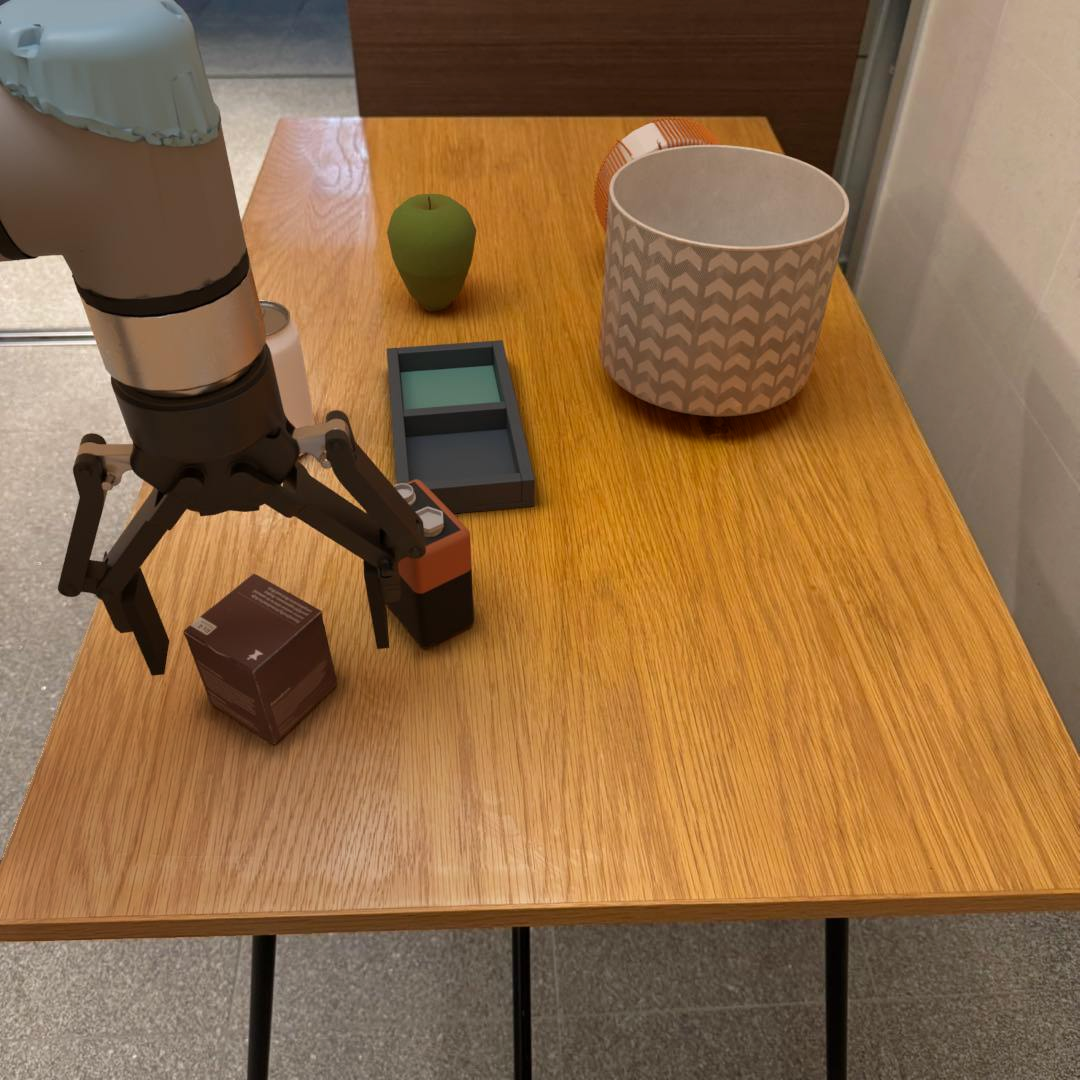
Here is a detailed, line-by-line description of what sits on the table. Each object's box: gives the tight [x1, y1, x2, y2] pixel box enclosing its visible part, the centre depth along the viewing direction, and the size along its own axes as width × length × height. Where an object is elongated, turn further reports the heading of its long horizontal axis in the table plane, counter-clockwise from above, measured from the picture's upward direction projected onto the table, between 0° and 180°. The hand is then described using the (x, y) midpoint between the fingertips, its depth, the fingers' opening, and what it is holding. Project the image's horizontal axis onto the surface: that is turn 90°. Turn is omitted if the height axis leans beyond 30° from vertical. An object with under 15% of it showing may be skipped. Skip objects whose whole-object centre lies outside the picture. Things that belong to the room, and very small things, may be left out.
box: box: [182, 573, 338, 745], centre depth 63 cm, size 6×6×7 cm
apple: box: [386, 193, 477, 313], centre depth 98 cm, size 9×8×12 cm
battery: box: [365, 479, 475, 649], centre depth 67 cm, size 4×7×10 cm, turn 36°
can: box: [259, 299, 316, 458], centre depth 81 cm, size 6×6×12 cm
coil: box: [593, 116, 723, 234], centre depth 103 cm, size 7×15×15 cm, turn 100°
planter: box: [598, 144, 850, 417], centre depth 86 cm, size 19×19×18 cm
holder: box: [386, 339, 536, 515], centre depth 85 cm, size 11×20×3 cm, turn 9°
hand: (273, 645), depth 62 cm, fingers open, 13 cm apart
